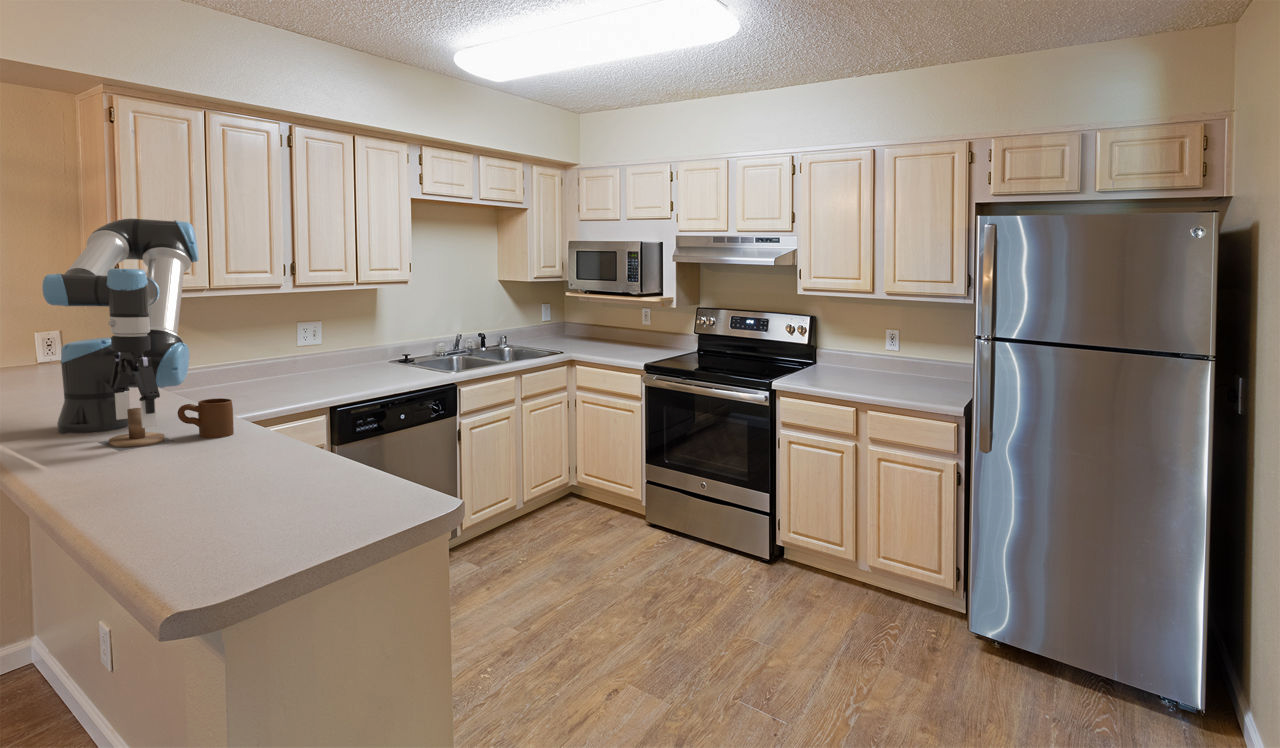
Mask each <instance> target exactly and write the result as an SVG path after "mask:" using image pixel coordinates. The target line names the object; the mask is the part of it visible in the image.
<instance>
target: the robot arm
mask: <svg viewBox="0 0 1280 748" xmlns="http://www.w3.org/2000/svg"><path fill="white" fill-rule="evenodd" d="M125 260H134V261H135V260H136V261H137V260H139V261H142V262H143V263H144V265H145V266H146V267H147V269H146V270H147V271H145V270H144V269H140V268H138V269H137V268H115V267H116V266H117V264H119V263H122V262H124V261H125ZM198 261H199V249H198V243H197V238H196V232H195V230H194V227H193V225H192V224H191V223H190V222H188V221H187V222H186V221H178V220H175V219H174V220H173V221H172V220H157V219H148V218H147V219H145V218H144V219H143V218H122V219H117V220H114V221H110V222H109V223H106V224H104V225H102V226H100V227H98V228H97V229H95V230H94V231H93V232H91V234H90V235H89V236H88V238H87V240H86V247H85V248H84V249H83V251H82V252H81V253H80V255H79V256H78V257H77V258H76V260H74V262H73V263H72V264H71V266H70V267H68V269H67V271H66V272H65V273H63V274H62V273H51V274H47V275H45V276H44V278H43V280H42V286H41V288H42V294H43V298H44V300H45V302H46V303H47V304H48V305H51V306H58V307H59V306H61V307H62V306H63V307H104V308H105V307H108V309H109V320H108V322H107V325H108V326H110V333H111V334H113V335H111V337H98V338H90V339H83V340H76V341H72V342H71V341H70V342H68V343H65V344H64V345H63V346H62V347H61V348H60V354H61V355H60V356H61V357H60V364H61V374H62V385H63V398H64V401H63V405H62V407H61V411H60V414H59V417H58V420H57V424H56V425H57V431H58V433H60V434H92V433H100V432H101V433H102V432H103V433H104V432H110V431H115V430H121V429H124V428H125V429H126V428H127V427H128V414H127V410H128V409H131V407H130V405H131V404H130V392H129V391H131V390H130V389H131V388H133V389H135V388H137V389H138V391H139V394H140V397H139V399H138V400H139V402H140V408H141V419H142V428H145V429H146V428H154V427H157V416H156V415H157V411H156V399H157V398H158V399H159V398H160V397H161V394H160V391H159V389H160V388H161V389H162V388H167V387H177V386H180V385H181V384H183V383H184V381H185V380H186V377H187V375H188V371H189V365H190V361H189V360H190V349H189V346H188V345H187V343H184V340H183V339H182V337H181V336H179V335H178V331H179V322H180V321H179V320H180V314H181V312H180V311H181V305H182V304H181V302H182V293H183V286H184V285H183V283H184V275H185V274H184V273H185V272H187V271H189V269H190V268H191V265H192V263H197V262H198Z"/></svg>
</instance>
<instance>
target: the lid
mask: <svg viewBox="0 0 1280 748" xmlns="http://www.w3.org/2000/svg"><path fill="white" fill-rule="evenodd" d="M127 414H128V426H127V427H128V433H125V434H120V435H117V436H113V437H110V438H109V439H108V440H109V445H110V446H113V447H124V448H127V447H141V448H143V447H142V446H147V447H150V446H149V445H153V446H155V445H154V444H158V443H161V442H163V441H164V440H165V437H166V435H165V434H164V433H161V432H152V431H151V432H149V431H147V432H146V428H142V419H141V407H132V408H131V407H130V409H128V410H127Z"/></svg>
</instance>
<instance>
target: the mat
mask: <svg viewBox="0 0 1280 748" xmlns="http://www.w3.org/2000/svg"><path fill="white" fill-rule="evenodd" d="M97 443H98V444H101V445H104V446H106V447H109V448H110V449H111V448H112V449H113V450H116V451H119V452H122V451H128V450H129V451H130V450H135V449H141V448H146V447H152V446H153V447H154V446H158V445H165V444H170V443H177V441H176V440H173V439H171V438H168V437H167V436H165V440H164V441H163V442H161V443H158V444H154V445H149V446H142V447H127V448H124V447H113V446H110V445H109V439H108V440H102V441H97Z"/></svg>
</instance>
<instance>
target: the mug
mask: <svg viewBox="0 0 1280 748" xmlns="http://www.w3.org/2000/svg"><path fill="white" fill-rule="evenodd" d="M233 407H234V406H233V401H232V399H231V398H230V399H229V398H207V399H202V400H198V404H197V405H196V404H192V403H188V404H187V403H186V404H183V405H181V406H180V407H179V408H178V410H177V417H178V419H179V420H180V421H181V422H182V423H183V424H187V425H188V424H189V425H195V426H197V427H198V432H199V433H198V434H199V437H200V438H203V439H222V438H227V437H228V438H229V437H232V436H233V435H234V431H235V430H234V429H235V428H234V408H233ZM186 411H191V412H195V413H197V417H194V416H191V417H190V416H189V417H188V416H187V414H186V413H185V412H186Z"/></svg>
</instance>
